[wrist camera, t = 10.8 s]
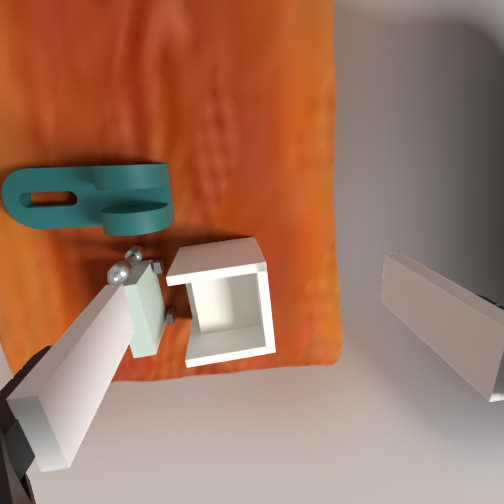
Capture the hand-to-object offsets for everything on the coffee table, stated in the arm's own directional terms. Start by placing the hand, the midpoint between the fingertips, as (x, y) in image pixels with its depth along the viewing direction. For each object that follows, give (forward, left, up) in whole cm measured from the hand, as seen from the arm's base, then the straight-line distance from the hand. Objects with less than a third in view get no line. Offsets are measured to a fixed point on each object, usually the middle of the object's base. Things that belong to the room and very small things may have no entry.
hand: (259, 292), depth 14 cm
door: (+9, -13, -24) cm, 29 cm away
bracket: (-4, -17, -24) cm, 29 cm away
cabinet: (+9, -3, -24) cm, 26 cm away
